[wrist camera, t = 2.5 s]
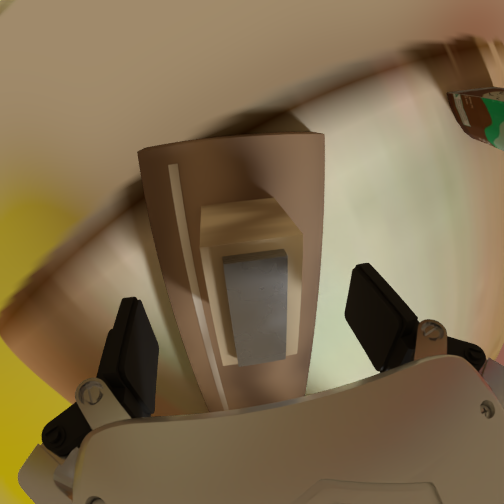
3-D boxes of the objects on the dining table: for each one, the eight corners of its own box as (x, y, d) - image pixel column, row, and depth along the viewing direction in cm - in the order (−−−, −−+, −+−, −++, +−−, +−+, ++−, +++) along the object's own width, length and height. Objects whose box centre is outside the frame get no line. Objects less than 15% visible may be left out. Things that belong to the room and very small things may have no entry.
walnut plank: (311, 131, 15) (330, 135, 13) (296, 405, 30) (302, 423, 27) (145, 147, 14) (133, 153, 12) (216, 418, 28) (218, 437, 26)
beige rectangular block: (273, 197, 15) (308, 241, 10) (276, 299, 18) (300, 361, 13) (201, 206, 14) (199, 255, 10) (217, 307, 18) (224, 374, 13)
